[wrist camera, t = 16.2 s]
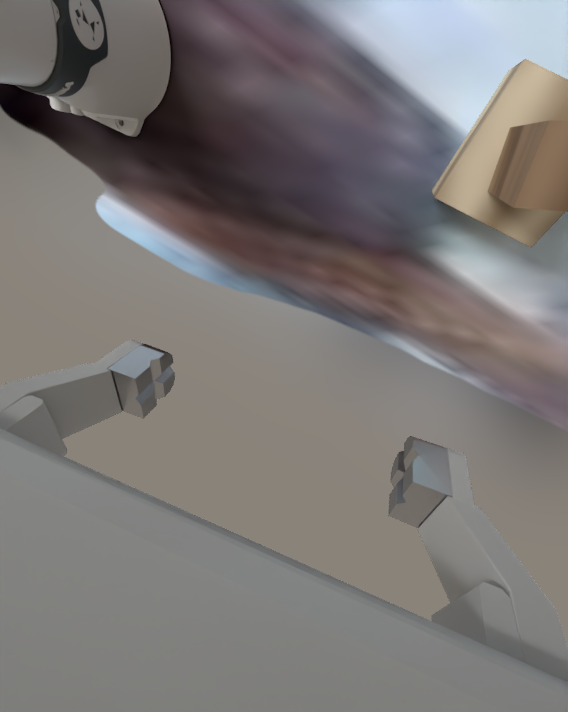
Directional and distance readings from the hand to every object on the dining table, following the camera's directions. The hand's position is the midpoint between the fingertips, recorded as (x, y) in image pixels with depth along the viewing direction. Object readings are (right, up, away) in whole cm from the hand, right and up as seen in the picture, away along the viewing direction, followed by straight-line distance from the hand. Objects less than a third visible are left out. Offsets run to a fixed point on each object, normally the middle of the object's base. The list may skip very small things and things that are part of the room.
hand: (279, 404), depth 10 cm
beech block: (+24, +22, +23) cm, 40 cm away
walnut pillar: (+22, +19, +18) cm, 34 cm away
